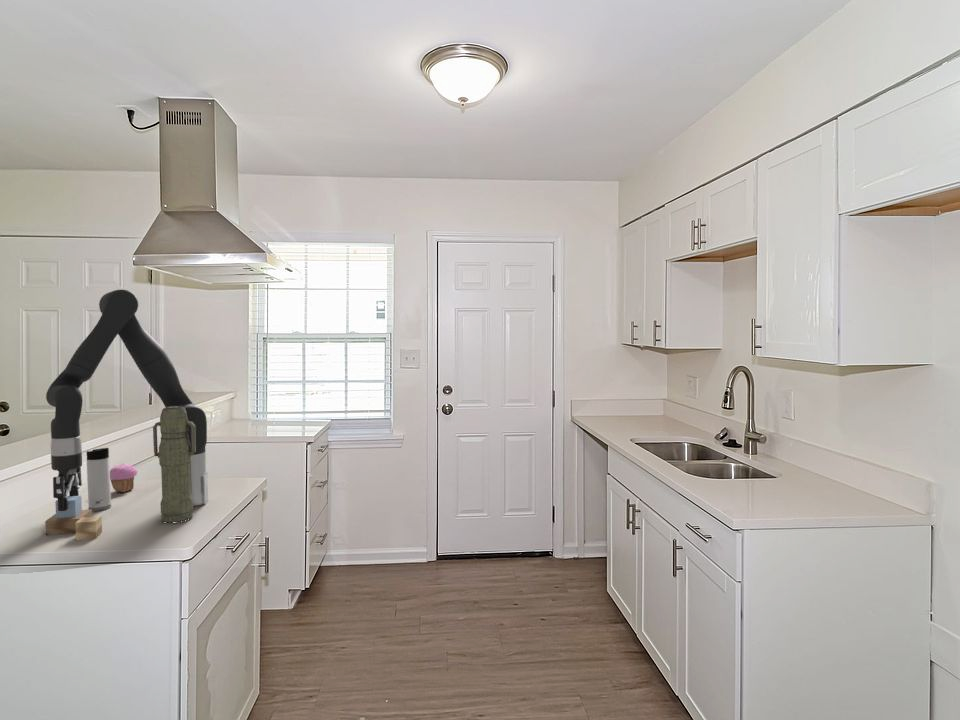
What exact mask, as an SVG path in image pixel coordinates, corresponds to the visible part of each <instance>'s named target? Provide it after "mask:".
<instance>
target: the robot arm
mask: <svg viewBox="0 0 960 720" xmlns="http://www.w3.org/2000/svg"><path fill="white" fill-rule="evenodd" d="M98 306H99V307H98V308H99V310H100V311H99V312H100V313H101V316H100V317H99V319H98V321H97V322H96V324H95V326H94V327H93V328H92V331H90V333H89V334H88V335H87V336H86V337H85V339H84V340H83V341H82V342H81V344H80V345H79V346H78V348H76V350H75V352H74V353H73V355H72V356H71V358H70V360H69V361H68V363H67V364H66V366H65V369H64V370H62V372H61V373H59V375H58V376H57V377H56V378H55V379H54V381H52V383H51V384H50V386H49V387H48V389H47V391H46V393H45V398H46V399H45V400H46V401H47V403H48V405H50V406H51V407H53V408H55V409H54V411H55V412H54V413H55V414H54V418H52V420H51V421H50V438H51V439H50V440H51V441H50V462H51V463H50V465H51V469H52V470H53V471H57V472H58V475H57V476H54V477H53V478H52V487H53V488H52V489H53V490H52V491H53V495H52V496H53V499H57V500H58V511H66V510H67V509H68V502H67V496H68V495H69V496H80V495H79V490H80V487H81V486H82V483H83V482H82V481H83V480H82V467H83V452H82V451H83V449H82V440H81V439H82V438H81V428H80V419H81V414H82V410H83V409H82V408H83V395H82V392H81V390H80V387H81V386H82V385H83V383H85V382H88V381H89V380H90V379H91V377H93V375H94V373H95V371H96V370H97V369H98V367H99V365H100V363H101V361H102V360H103V359H104V356H105V354H106V353H107V351H108V350H109V348H110V346H111V345H112V343H113V342H114V340H115V338H116V337H117V335H118V336H119V338H120V339H121V341H122V343H123V344H124V346H125V348H126V349H127V351H128V353H129V354H130V356H131V358H132V359H133V362H134V363H135V365H136V367H137V368H138V369H139V371H140V373H141V374H142V377H143V378H144V379H145V380H146V381H147V383H148V384H149V386H150V387H151V388H152V390H153V391H154V392H155V393H156V395H157V396H158V397H159V399H160V400H161V402H162V403H163V406H164V408H165V407H167V406H182V407H185V410H186V412H187V415H188V420H189V421H192V422H193V423H194V424H195V426H196V452H195V453H194V454H193V455H191V463H190V487H191V495H192V498H193V507H198V506H202V505H206V504H207V502H208V501H209V485H208V484H209V482H208V472H207V464H206V463H207V460H206V458H207V457H206V455H207V454H206V446H207V442H208V424H207V423H208V420H207V415H206V412H205V411H204V410H203V409H202V408H201V407H199V406H197V405H196V404H195V403H193V402H192V401H191V399H190V398H189V396H188V395H187V393H186V392H185V390H184V389H183V387H182V385H181V382H180V379H179V376H178V372H177V371H176V368H175V366H174V364H173V363H172V360H171V359H170V357H169V356H168V354H167V353H166V351H165V350H164V348H163V347H162V346H161V345H160V343H158V341H157V340H156V339H155V338H153V337H152V335H150V333H148V332H147V331H146V329H144V327H143V326H142V325H141V323H140V321H139V319H138V318H137V316H136V313H137V311H138V309H139V301H138V297H137V296H136V294H135V293H133V292H132V291H129V290H127V289H116V290H112V291H110V292H106V293H105V294H103V295H102V296H101V298H100V299H99V303H98ZM188 439H189V442H190V444H191V426H190V425H189V424H188ZM191 450H192V444H191Z"/></svg>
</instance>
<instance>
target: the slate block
mask: <svg viewBox="0 0 960 720" xmlns="http://www.w3.org/2000/svg"><path fill="white" fill-rule="evenodd" d="M54 502H55V514H56V518H69V517H76V516H78V515H79V514H80V513H81V512H82V510H83V507H82V506H83V505H82V495H79V496H68V495H67V502H68V509H67V510H66V511H58V499H57V500H55V501H54Z"/></svg>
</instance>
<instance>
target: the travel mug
mask: <svg viewBox="0 0 960 720" xmlns="http://www.w3.org/2000/svg"><path fill="white" fill-rule="evenodd" d="M109 449H110V448H109V447H102V448H101V447H100V448H95V449H92V450H87V451H86V474H87V475H86V476H87V499H88V501H87V502H88V510H92V512H99V511H105V510H109V509H110V508H111V507H112V496H111V494H112V493H111V492H112V491H111V480H110V470H111V468H110V466H111V465H110V451H109Z"/></svg>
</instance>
